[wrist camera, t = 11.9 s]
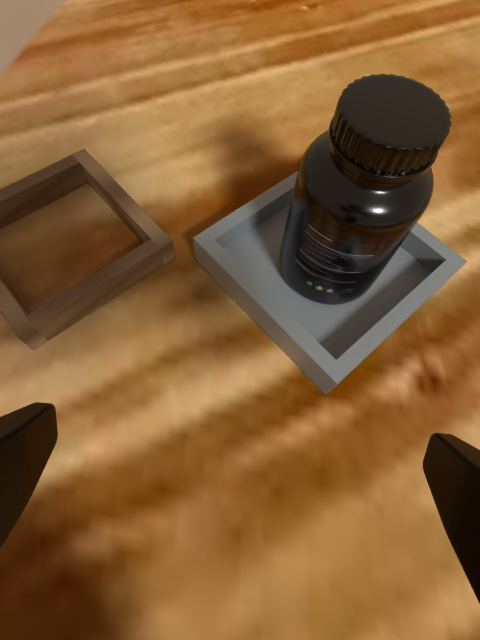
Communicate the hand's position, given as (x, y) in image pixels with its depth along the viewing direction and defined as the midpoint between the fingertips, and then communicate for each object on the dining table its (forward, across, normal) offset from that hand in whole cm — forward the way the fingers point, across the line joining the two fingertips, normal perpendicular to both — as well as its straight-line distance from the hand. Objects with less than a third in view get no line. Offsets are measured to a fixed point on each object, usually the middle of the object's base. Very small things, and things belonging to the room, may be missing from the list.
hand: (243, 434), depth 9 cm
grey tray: (+20, -6, 0) cm, 20 cm away
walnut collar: (+20, +13, 0) cm, 23 cm away
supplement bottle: (+19, -6, -1) cm, 20 cm away
